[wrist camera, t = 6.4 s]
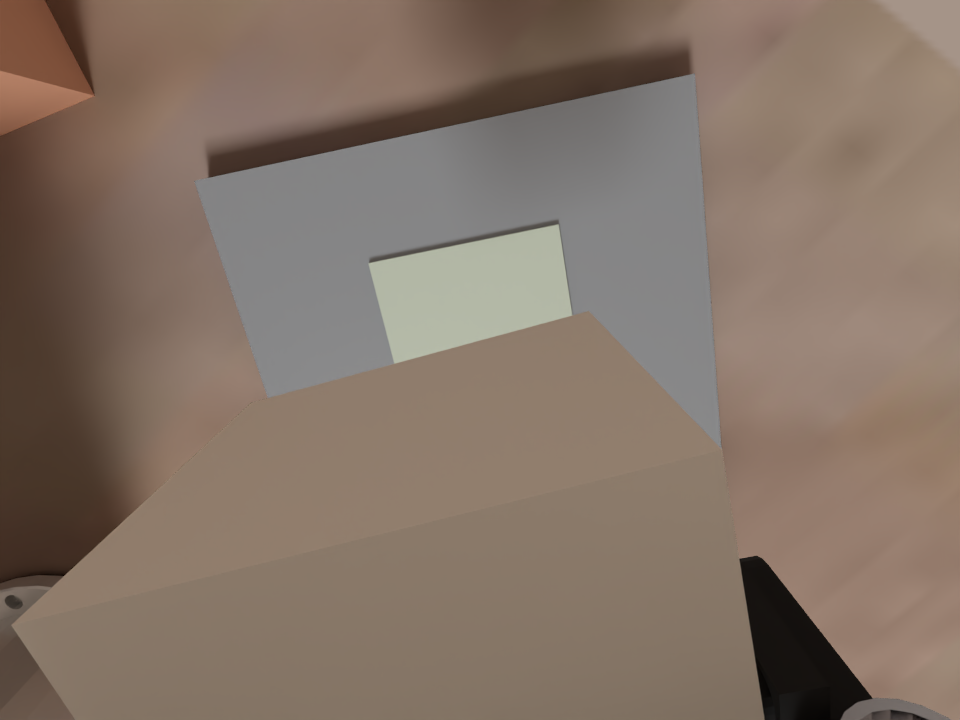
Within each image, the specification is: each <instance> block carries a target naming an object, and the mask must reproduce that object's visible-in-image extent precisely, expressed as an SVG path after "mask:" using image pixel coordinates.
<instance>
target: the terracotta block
mask: <svg viewBox="0 0 960 720" xmlns="http://www.w3.org/2000/svg"><path fill="white" fill-rule="evenodd" d="M93 96H95V95H94V93H93V92H92V90H91V88H90V86H89V84H88V82H87V80H86V78H85V76H84V74H83V72H82V71H81V69H80V67H79V65H78V63H77V61H76V59H75V57H74V55H73V53H72V51H71V50H70V48H69V46H68V44H67V42H66V40H65V38H64V36H63V34H62V32H61V31H60V29H59V27H58V25H57V23H56V21H55V19H54V17H53V15H52V13H51V11H50V10H49V8H48V6H47V4H46V2H45V0H0V136H2V135H4V134H6V133H9V132H11V131H13V130H16V129H18V128H20V127H23V126H25V125H27V124H30V123H32V122H35V121H37V120H39V119H42V118H44V117H46V116H49V115H51V114H53V113H56V112H58V111H60V110H63V109H65V108H68V107H70V106H72V105H75V104H77V103H79V102H82V101H84V100H86V99H89V98H91V97H93Z"/></svg>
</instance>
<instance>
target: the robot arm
mask: <svg viewBox="0 0 960 720" xmlns="http://www.w3.org/2000/svg"><path fill="white" fill-rule="evenodd" d="M739 560H740V566H741V573H742V579H743V585H744V592H745V598H746V604H747V611H748V617H749V624H750V630H751V636H752V642H753V649H754V655H755V662H756V668H757V674H758V681H759V687H760V693H761V700H762V706H763V712H764V719H765V720H950V719H949V718H947V717H946V716H943V715H941V714H939V713H937V712H935V711H933V710H931V709H928V708H926V707H924V706H922V705H918V704H915V703H911V702H907V701H903V700H900V699H888V698H872V697H871V696H870V694H869V693H868V692H867V691H866V689H865V688H864V687H863V685H862V684H861V683H860V682H859V680H858V679H857V678H856V677H855V675H854V674H853V673H852V671H851V670H850V669H849V668H848V666H847V665H846V664H845V662H844V661H843V660H842V659H841V657H840V656H839V655H838V654H837V652H836V651H835V650H834V648H833V647H832V646H831V645H830V643H829V642H828V641H827V639H826V638H825V637H824V636H823V634H822V633H821V632H820V631H819V629H818V628H817V627H816V625H815V624H814V623H813V622H812V620H811V619H810V618H809V616H808V615H807V614H806V613H805V611H804V610H803V609H802V607H801V606H800V605H799V604H798V602H797V601H796V600H795V599H794V597H793V596H792V595H791V593H790V592H789V591H788V590H787V588H786V587H785V586H784V584H783V583H782V582H781V581H780V579H779V578H778V577H777V576H776V574H775V573H774V572H773V570H772V569H771V568H770V567H769V565H768V564H767V563H766V562H765V561H764V560H763V559H762V558H760V557H758V556H753V557H747V558H742V559H739ZM63 577H64V576H48V575H36V576H29V577H22V578H15V579H12V580H9V581H6V582H3V583H0V720H75V719H74V717H73V716H72V714H71V713H70V711H69V710H68V708H67V707H66V705H65V704H64V703H63V701H62V700H61V698H60V697H59V695H58V694H57V692H56V691H55V689H54V688H53V686H52V685H51V683H50V682H49V680H48V679H47V677H46V676H45V674H44V673H43V671H42V670H41V668H40V667H39V665H38V664H37V663H36V661H35V660H34V658H33V657H32V655H31V654H30V652H29V651H28V649H27V648H26V646H25V645H24V643H23V642H22V640H21V639H20V637H19V636H18V634H17V633H16V631H15V630H14V628H13V627H12V626H11V625H12V624H13V623H14V622H15V621H16V620H17V619H18V618H19V617H20V616H22V615H23V614H24V613H25V612H26V611H27V610H28V609H29V608H30V607H31V606H32V605H33V604H35V603H36V602H37V601H38V600H39V599H40V598H41V597H42V596H43V595H44V594H45V593H46V592H47V591H49V590H50V589H51V588H52V587H53V586H54V585H55V584H56V583H57V582H58V581H59V580H60V579H61V578H63Z"/></svg>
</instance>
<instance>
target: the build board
mask: <svg viewBox="0 0 960 720" xmlns="http://www.w3.org/2000/svg"><path fill="white" fill-rule="evenodd" d="M194 182H195V185H196V188H197V191H198V194H199V196H200V199H201V202H202V205H203V208H204V211H205V214H206V217H207V220H208V223H209V226H210V229H211V232H212V235H213V238H214V241H215V244H216V247H217V249H218V252H219V255H220V258H221V261H222V264H223V267H224V270H225V273H226V276H227V279H228V282H229V285H230V288H231V291H232V294H233V297H234V300H235V302H236V305H237V308H238V311H239V314H240V317H241V320H242V323H243V326H244V329H245V332H246V335H247V338H248V341H249V344H250V347H251V350H252V352H253V355H254V358H255V361H256V364H257V367H258V370H259V373H260V376H261V379H262V382H263V385H264V388H265V391H266V394H267V397H268V398H270V397H274V396H277V395H281V394H285V393H288V392H292V391H296V390H299V389H303V388H307V387H311V386H314V385H318V384H322V383H325V382H329V381H333V380H336V379H340V378H344V377H347V376H351V375H355V374H358V373H362V372H366V371H370V370H373V369H377V368H381V367H384V366H388V365H392V364H395V363H399V362H403V361H406V360H410V359H414V358H417V357H421V356H425V355H429V354H432V353H436V352H440V351H443V350H447V349H451V348H454V347H458V346H462V345H465V344H469V343H473V342H476V341H480V340H484V339H488V338H491V337H495V336H499V335H502V334H506V333H510V332H513V331H517V330H521V329H524V328H528V327H532V326H535V325H539V324H543V323H547V322H550V321H554V320H558V319H561V318H565V317H569V316H572V315H576V314H580V313H583V312H587V311H589V312H590V313H591V314H592V315H593V316H594V317H595V318H596V319H597V320H598V321H599V322H600V323H601V324H602V325H603V326H604V327H605V328H606V329H607V330H608V331H609V333H610V334H611V335H612V336H613V337H614V338H615V339H616V340H617V341H618V342H619V343H620V344H621V345H622V346H623V347H624V348H625V349H626V350H627V351H628V352H629V353H630V354H631V355H632V356H633V358H634V359H635V360H636V361H637V362H638V363H639V364H640V365H641V366H642V367H643V368H644V369H645V370H646V371H647V372H648V373H649V374H650V375H651V376H652V377H653V378H654V379H655V380H656V381H657V382H658V384H659V385H660V386H661V387H662V388H663V389H664V390H665V391H666V392H667V393H668V394H669V395H670V396H671V397H672V398H673V399H674V400H675V401H676V402H677V403H678V404H679V405H680V406H681V407H682V409H683V410H684V411H685V412H686V413H687V414H688V415H689V416H690V417H691V418H692V419H693V420H694V421H695V422H696V423H697V424H698V425H699V426H700V427H701V428H702V429H703V430H704V431H705V432H706V434H707V435H708V436H709V437H710V438H711V439H712V440H713V441H714V442H715V443H716V444H717V445H718V446H719V447H720V448H721V437H720V423H719V408H718V394H717V380H716V366H715V352H714V338H713V324H712V309H711V295H710V281H709V267H708V253H707V239H706V225H705V211H704V196H703V182H702V168H701V154H700V140H699V126H698V112H697V97H696V83H695V74H691V75H686V76H681V77H677V78H672V79H667V80H663V81H658V82H653V83H649V84H644V85H639V86H635V87H630V88H625V89H621V90H616V91H611V92H607V93H602V94H597V95H593V96H588V97H583V98H579V99H574V100H569V101H565V102H560V103H555V104H551V105H546V106H541V107H537V108H532V109H527V110H523V111H518V112H513V113H509V114H504V115H499V116H495V117H490V118H485V119H481V120H476V121H471V122H467V123H462V124H457V125H453V126H448V127H443V128H439V129H434V130H429V131H425V132H420V133H415V134H411V135H406V136H401V137H397V138H392V139H387V140H383V141H378V142H373V143H369V144H364V145H359V146H355V147H350V148H345V149H341V150H336V151H331V152H327V153H322V154H317V155H313V156H308V157H303V158H299V159H294V160H289V161H285V162H280V163H276V164H271V165H266V166H262V167H257V168H252V169H248V170H243V171H238V172H234V173H229V174H224V175H220V176H215V177H210V178H206V179H201V180H196V181H194Z"/></svg>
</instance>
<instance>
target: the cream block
mask: <svg viewBox="0 0 960 720" xmlns="http://www.w3.org/2000/svg"><path fill="white" fill-rule="evenodd" d="M11 626H12V627H13V628H14V630H15V631H16V633H17V634H18V636H19V637H20V639H21V640H22V642H23V643H24V645H25V646H26V648H27V649H28V651H29V652H30V654H31V655H32V657H33V658H34V660H35V661H36V663H37V664H38V665H39V667H40V668H41V670H42V671H43V673H44V674H45V676H46V677H47V679H48V680H49V682H50V683H51V685H52V686H53V688H54V689H55V691H56V692H57V694H58V695H59V697H60V698H61V700H62V701H63V703H64V704H65V705H66V707H67V708H68V710H69V711H70V713H71V714H72V716H73V717H74V719H75V720H765V719H764V712H763V706H762V700H761V693H760V687H759V681H758V674H757V668H756V662H755V655H754V649H753V642H752V636H751V630H750V624H749V617H748V611H747V604H746V598H745V592H744V585H743V579H742V573H741V566H740V560H739V554H738V547H737V541H736V535H735V528H734V522H733V516H732V509H731V503H730V497H729V490H728V484H727V478H726V471H725V465H724V459H723V452H722V449H721V448H720V447H719V446H718V445H717V444H716V443H715V442H714V441H713V440H712V439H711V438H710V437H709V436H708V435H707V434H706V432H705V431H704V430H703V429H702V428H701V427H700V426H699V425H698V424H697V423H696V422H695V421H694V420H693V419H692V418H691V417H690V416H689V415H688V414H687V413H686V412H685V411H684V410H683V409H682V407H681V406H680V405H679V404H678V403H677V402H676V401H675V400H674V399H673V398H672V397H671V396H670V395H669V394H668V393H667V392H666V391H665V390H664V389H663V388H662V387H661V386H660V385H659V384H658V382H657V381H656V380H655V379H654V378H653V377H652V376H651V375H650V374H649V373H648V372H647V371H646V370H645V369H644V368H643V367H642V366H641V365H640V364H639V363H638V362H637V361H636V360H635V359H634V358H633V356H632V355H631V354H630V353H629V352H628V351H627V350H626V349H625V348H624V347H623V346H622V345H621V344H620V343H619V342H618V341H617V340H616V339H615V338H614V337H613V336H612V335H611V334H610V333H609V331H608V330H607V329H606V328H605V327H604V326H603V325H602V324H601V323H600V322H599V321H598V320H597V319H596V318H595V317H594V316H593V315H592V314H591V313H590V312H589V311H587V312H583V313H580V314H576V315H572V316H569V317H565V318H561V319H558V320H554V321H550V322H547V323H543V324H539V325H535V326H532V327H528V328H524V329H521V330H517V331H513V332H510V333H506V334H502V335H499V336H495V337H491V338H488V339H484V340H480V341H476V342H473V343H469V344H465V345H462V346H458V347H454V348H451V349H447V350H443V351H440V352H436V353H432V354H429V355H425V356H421V357H417V358H414V359H410V360H406V361H403V362H399V363H395V364H392V365H388V366H384V367H381V368H377V369H373V370H370V371H366V372H362V373H358V374H355V375H351V376H347V377H344V378H340V379H336V380H333V381H329V382H325V383H322V384H318V385H314V386H311V387H307V388H303V389H299V390H296V391H292V392H288V393H285V394H281V395H277V396H274V397H270V398H266V399H263V400H259V401H255V402H252V403H250V404H249V405H248V406H247V407H246V408H245V409H244V410H243V411H242V412H241V413H240V414H238V415H237V416H236V417H235V418H234V419H233V420H232V421H231V422H230V423H229V424H228V425H227V426H225V427H224V428H223V429H222V430H221V431H220V432H219V433H218V434H217V435H216V436H215V437H214V438H213V439H211V440H210V441H209V442H208V443H207V444H206V445H205V446H204V447H203V448H202V449H201V450H200V451H199V452H197V453H196V454H195V455H194V456H193V457H192V458H191V459H190V460H189V461H188V462H187V463H186V464H184V465H183V466H182V467H181V468H180V469H179V470H178V471H177V472H176V473H175V474H174V475H173V476H172V477H170V478H169V479H168V480H167V481H166V482H165V483H164V484H163V485H162V486H161V487H160V488H159V489H158V490H156V491H155V492H154V493H153V494H152V495H151V496H150V497H149V498H148V499H147V500H146V501H145V502H143V503H142V504H141V505H140V506H139V507H138V508H137V509H136V510H135V511H134V512H133V513H132V514H131V515H129V516H128V517H127V518H126V519H125V520H124V521H123V522H122V523H121V524H120V525H119V526H118V527H117V528H115V529H114V530H113V531H112V532H111V533H110V534H109V535H108V536H107V537H106V538H105V539H104V540H102V541H101V542H100V543H99V544H98V545H97V546H96V547H95V548H94V549H93V550H92V551H91V552H90V553H88V554H87V555H86V556H85V557H84V558H83V559H82V560H81V561H80V562H79V563H78V564H77V565H76V566H74V567H73V568H72V569H71V570H70V571H69V572H68V573H67V574H66V575H65V576H64V577H63V578H61V579H60V580H59V581H58V582H57V583H56V584H55V585H54V586H53V587H52V588H51V589H50V590H49V591H47V592H46V593H45V594H44V595H43V596H42V597H41V598H40V599H39V600H38V601H37V602H36V603H35V604H33V605H32V606H31V607H30V608H29V609H28V610H27V611H26V612H25V613H24V614H23V615H22V616H20V617H19V618H18V619H17V620H16V621H15V622H14V623H13V624H12V625H11Z"/></svg>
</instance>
